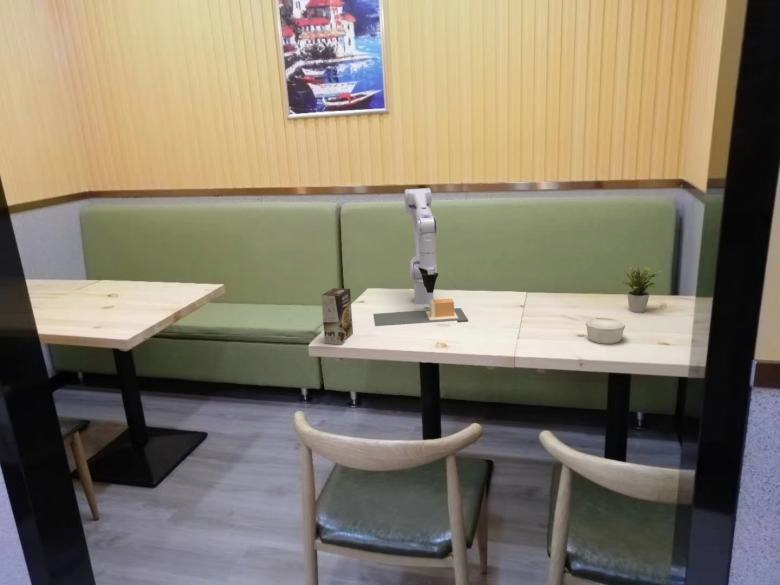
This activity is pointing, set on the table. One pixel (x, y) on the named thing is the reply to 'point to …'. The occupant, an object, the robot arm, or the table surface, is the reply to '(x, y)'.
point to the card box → (441, 307)
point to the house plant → (639, 289)
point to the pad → (441, 317)
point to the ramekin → (605, 330)
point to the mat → (412, 318)
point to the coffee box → (337, 315)
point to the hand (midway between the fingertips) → (428, 289)
